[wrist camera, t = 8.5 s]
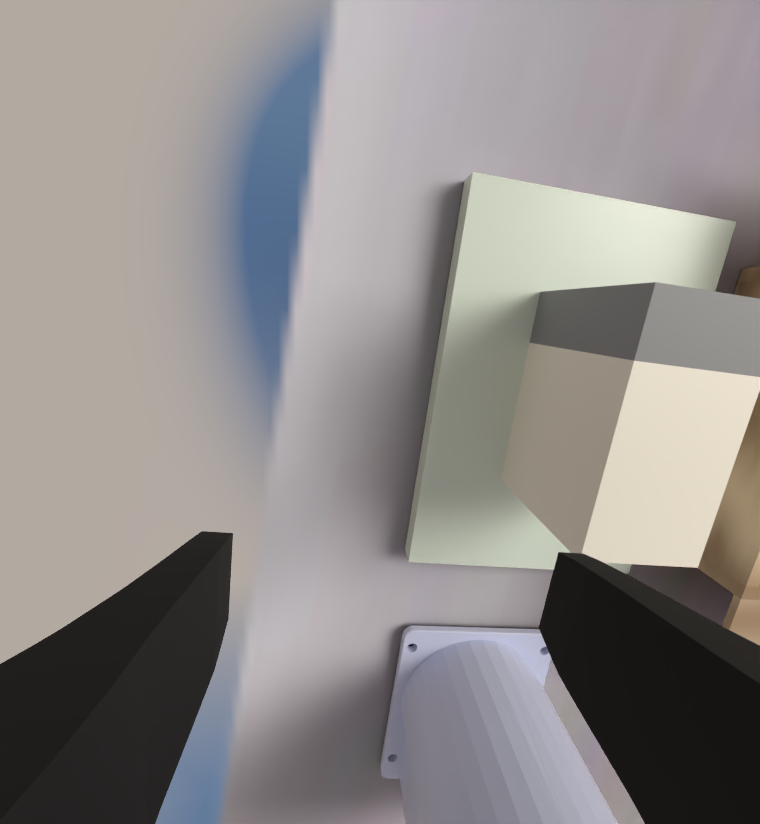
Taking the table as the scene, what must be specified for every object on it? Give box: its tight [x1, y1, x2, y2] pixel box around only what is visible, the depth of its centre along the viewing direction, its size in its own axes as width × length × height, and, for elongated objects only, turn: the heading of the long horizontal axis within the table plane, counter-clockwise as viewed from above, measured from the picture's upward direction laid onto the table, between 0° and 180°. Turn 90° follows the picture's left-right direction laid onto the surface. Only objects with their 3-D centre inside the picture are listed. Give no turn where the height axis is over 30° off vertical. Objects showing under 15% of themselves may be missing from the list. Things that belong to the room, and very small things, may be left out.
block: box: [500, 282, 760, 568], centre depth 14 cm, size 8×4×6 cm, turn 173°
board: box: [405, 172, 736, 573], centre depth 18 cm, size 16×11×1 cm
